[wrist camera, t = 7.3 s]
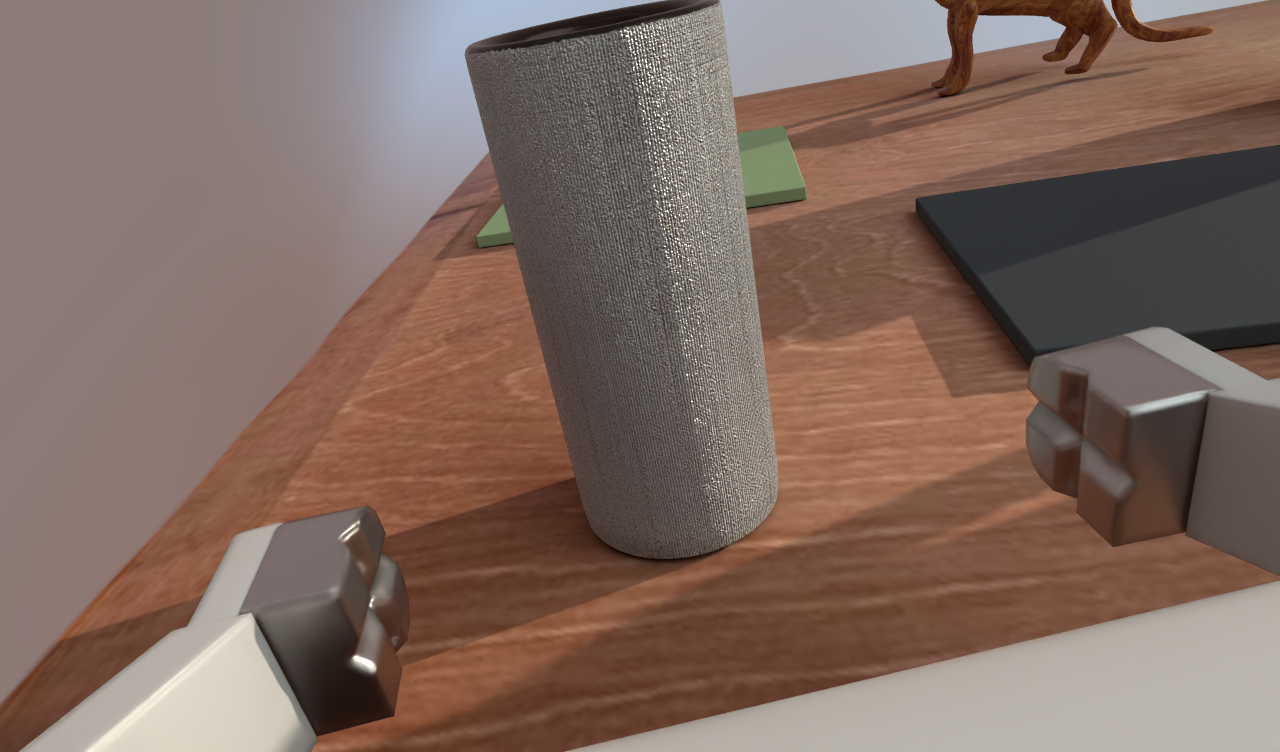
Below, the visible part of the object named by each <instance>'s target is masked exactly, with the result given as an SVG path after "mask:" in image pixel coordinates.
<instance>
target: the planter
mask: <svg viewBox="0 0 1280 752" xmlns="http://www.w3.org/2000/svg"><path fill="white" fill-rule="evenodd" d="M465 58H466V62H467V67H468V71H469V74H470V78H471V82H472V86H473V90H474V93H475V98H476V101H477V105H478V109H479V113H480V117H481V121H482V124H483V128H484V132H485V136H486V140H487V143H488V147H489V151H490V155H491V159H492V162H493V166H494V170H495V174H496V178H497V182H498V185H499V189H500V193H501V197H502V201H503V204H504V208H505V212H506V216H507V220H508V223H509V227H510V231H511V235H512V239H513V242H514V246H515V250H516V254H517V258H518V262H519V265H520V269H521V273H522V277H523V281H524V284H525V288H526V292H527V296H528V300H529V303H530V307H531V311H532V315H533V319H534V323H535V326H536V330H537V334H538V338H539V342H540V345H541V349H542V353H543V357H544V361H545V364H546V368H547V372H548V376H549V380H550V384H551V387H552V391H553V395H554V399H555V403H556V406H557V410H558V414H559V418H560V422H561V425H562V429H563V433H564V437H565V441H566V444H567V448H568V452H569V456H570V460H571V464H572V467H573V471H574V475H575V479H576V483H577V486H578V490H579V494H580V498H581V502H582V505H583V508H584V511H585V514H586V517H587V519H588V522H589V525H590V527H591V528H592V530H593V532H594V533H595V534H596V535H597V536H598V537H599V538H600V539H601V540H602V541H604V542H605V543H606V544H608V545H610V546H611V547H613V548H615V549H617V550H619V551H622V552H625V553H628V554H631V555H634V556H639V557H645V558H654V559H676V558H685V557H692V556H697V555H702V554H706V553H709V552H712V551H715V550H718V549H721V548H723V547H726V546H728V545H730V544H732V543H734V542H736V541H738V540H740V539H741V538H743V537H744V536H746V535H747V534H749V533H750V532H752V531H753V530H754V529H755V528H757V527H758V526H759V525H760V524H761V523H762V522H763V521H764V519H765V518H766V517H767V516H768V515H769V513H770V512H771V510H772V509H773V507H774V505H775V502H776V500H777V496H778V489H779V485H778V467H777V457H776V449H775V440H774V432H773V424H772V416H771V407H770V399H769V391H768V383H767V375H766V366H765V358H764V350H763V342H762V333H761V325H760V317H759V309H758V300H757V292H756V284H755V276H754V268H753V259H752V251H751V243H750V235H749V226H748V218H747V210H746V202H745V193H744V185H743V177H742V169H741V161H740V152H739V144H738V136H737V128H736V119H735V111H734V103H733V95H732V87H731V78H730V70H729V62H728V54H727V45H726V38H725V29H724V21H723V14H722V7H721V3H720V1H719V0H666V1H659V2H653V3H648V4H642V5H636V6H630V7H624V8H619V9H614V10H609V11H603V12H598V13H593V14H588V15H583V16H578V17H574V18H569V19H565V20H560V21H555V22H551V23H546V24H542V25H537V26H533V27H529V28H525V29H521V30H517V31H513V32H509V33H505V34H501V35H497V36H494V37H490V38H487V39H484V40H481V41H478V42H475V43H473V44H471V45H469V46H468V48H467V49H466V51H465Z"/></svg>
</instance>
